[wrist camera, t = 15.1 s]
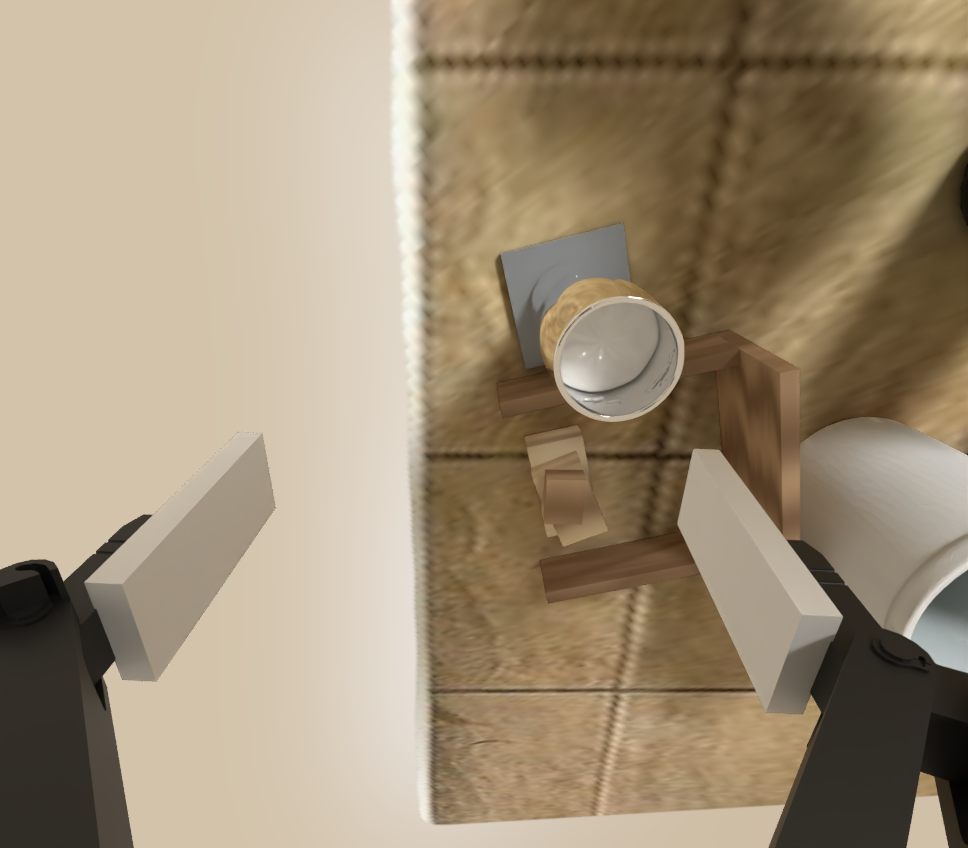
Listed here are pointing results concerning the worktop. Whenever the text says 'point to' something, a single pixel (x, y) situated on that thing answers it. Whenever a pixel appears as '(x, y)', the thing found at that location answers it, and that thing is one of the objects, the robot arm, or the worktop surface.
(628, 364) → the beer glass
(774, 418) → the open wooden frame
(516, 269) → the coaster
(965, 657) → the utensil holder
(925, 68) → the worktop surface
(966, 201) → the coffee jar
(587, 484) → the offcut stack
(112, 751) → the robot arm
